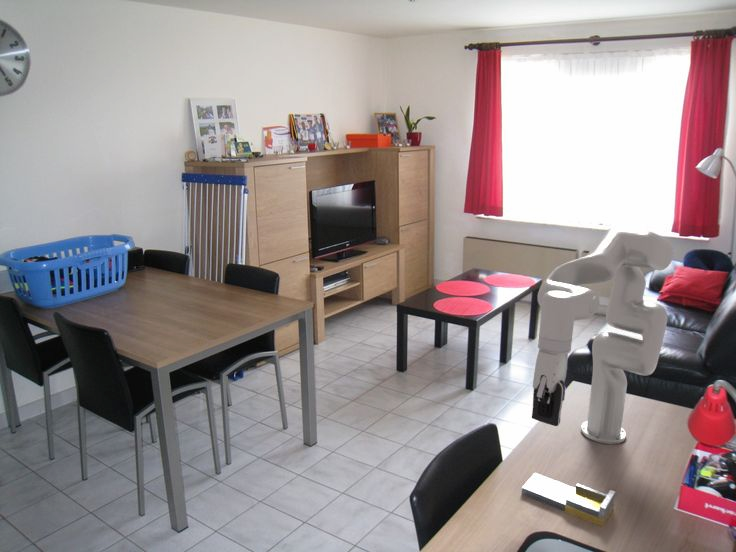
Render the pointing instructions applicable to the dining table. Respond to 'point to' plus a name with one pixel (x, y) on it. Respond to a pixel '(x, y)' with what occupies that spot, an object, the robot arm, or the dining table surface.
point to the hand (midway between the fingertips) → (547, 412)
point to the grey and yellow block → (571, 498)
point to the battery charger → (556, 405)
